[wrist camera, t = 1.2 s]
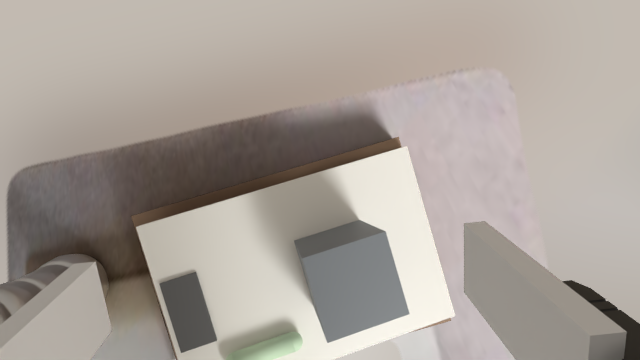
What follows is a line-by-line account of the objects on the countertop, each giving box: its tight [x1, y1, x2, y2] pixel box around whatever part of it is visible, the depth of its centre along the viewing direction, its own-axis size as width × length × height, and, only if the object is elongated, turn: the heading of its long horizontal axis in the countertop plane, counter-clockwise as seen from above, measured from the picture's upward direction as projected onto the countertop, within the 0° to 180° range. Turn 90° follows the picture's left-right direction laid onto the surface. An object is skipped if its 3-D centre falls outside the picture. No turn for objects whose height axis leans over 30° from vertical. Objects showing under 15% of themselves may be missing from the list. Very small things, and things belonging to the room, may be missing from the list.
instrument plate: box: [136, 146, 455, 360], centre depth 32 cm, size 16×24×9 cm, turn 107°
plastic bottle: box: [0, 254, 109, 325], centre depth 32 cm, size 6×7×20 cm
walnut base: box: [131, 137, 451, 360], centre depth 40 cm, size 18×26×3 cm
